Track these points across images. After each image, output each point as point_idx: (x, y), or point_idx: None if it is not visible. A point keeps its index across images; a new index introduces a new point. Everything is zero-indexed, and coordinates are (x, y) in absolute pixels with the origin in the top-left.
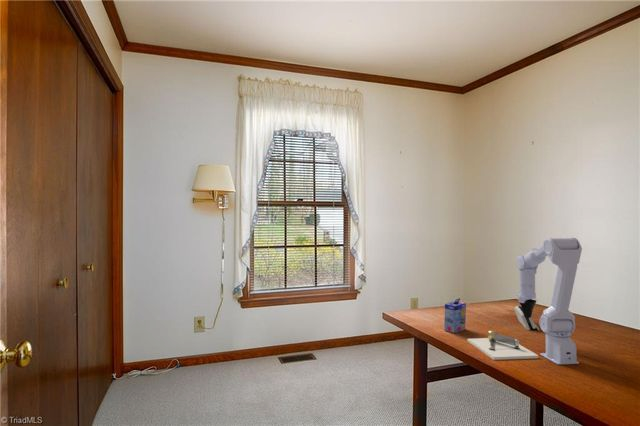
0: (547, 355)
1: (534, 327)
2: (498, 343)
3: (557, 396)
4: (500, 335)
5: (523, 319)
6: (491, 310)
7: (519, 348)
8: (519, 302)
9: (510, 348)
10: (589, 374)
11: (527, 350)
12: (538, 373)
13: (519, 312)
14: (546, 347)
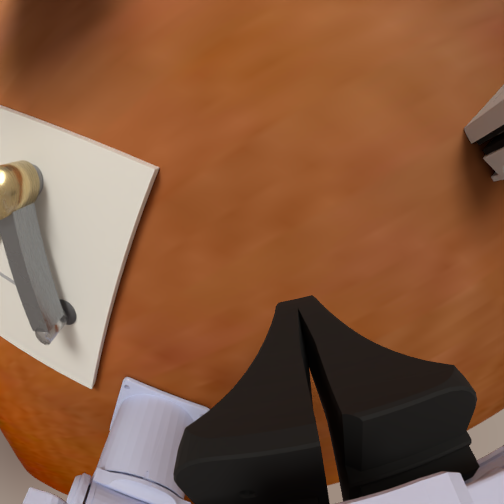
0: (119, 408)
1: (492, 164)
2: None
3: (10, 441)
4: (9, 249)
5: (498, 108)
6: None
7: (72, 319)
8: (188, 434)
9: None
10: None
11: (89, 347)
12: (26, 407)
13: None
14: (112, 426)
